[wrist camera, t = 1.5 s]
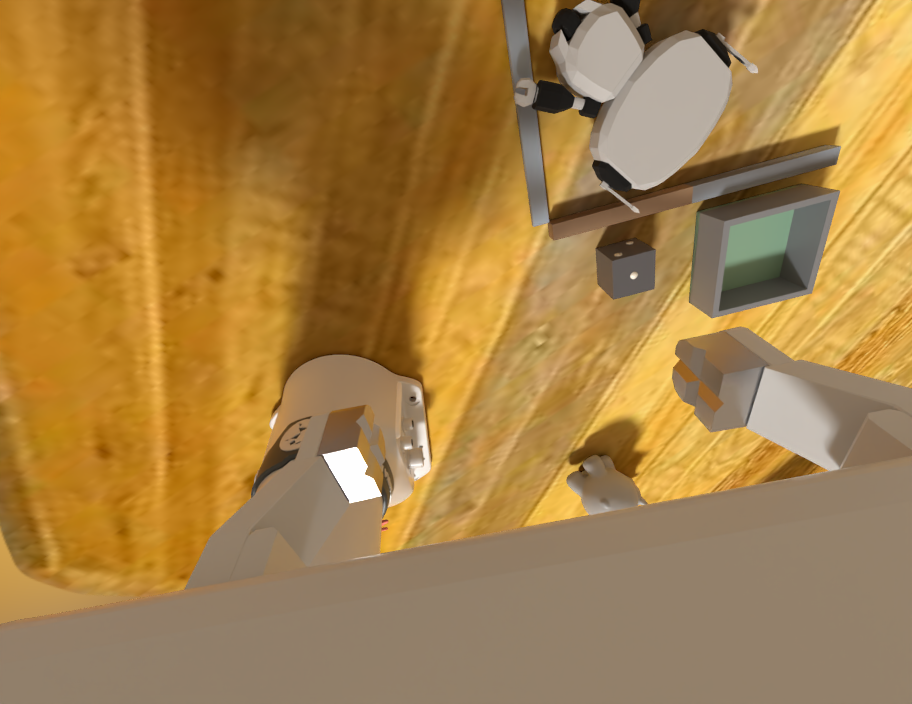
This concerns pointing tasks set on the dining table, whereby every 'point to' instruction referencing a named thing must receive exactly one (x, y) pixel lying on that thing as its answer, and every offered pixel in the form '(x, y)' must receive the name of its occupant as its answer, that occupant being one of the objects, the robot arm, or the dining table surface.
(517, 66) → the track
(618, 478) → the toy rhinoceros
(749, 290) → the tray
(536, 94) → the robot toy
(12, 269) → the dining table surface
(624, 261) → the die
